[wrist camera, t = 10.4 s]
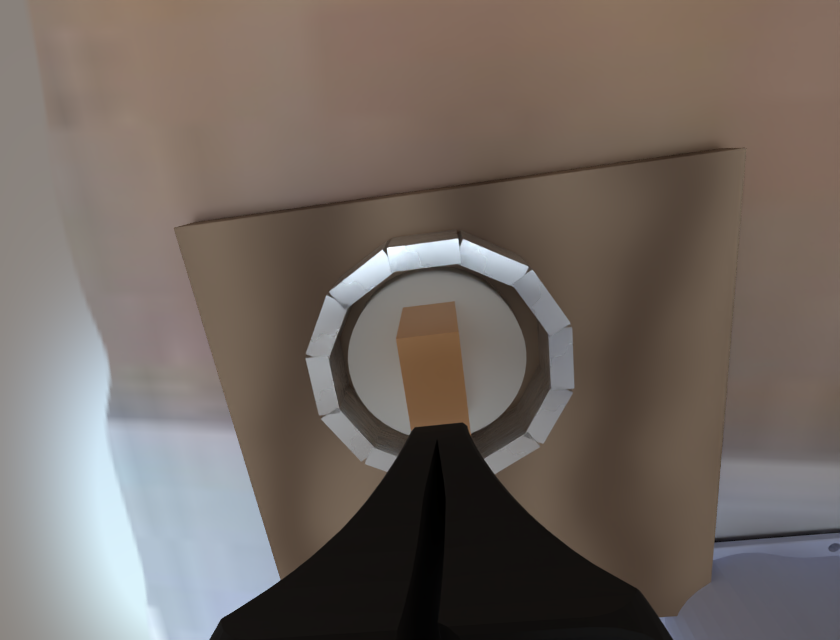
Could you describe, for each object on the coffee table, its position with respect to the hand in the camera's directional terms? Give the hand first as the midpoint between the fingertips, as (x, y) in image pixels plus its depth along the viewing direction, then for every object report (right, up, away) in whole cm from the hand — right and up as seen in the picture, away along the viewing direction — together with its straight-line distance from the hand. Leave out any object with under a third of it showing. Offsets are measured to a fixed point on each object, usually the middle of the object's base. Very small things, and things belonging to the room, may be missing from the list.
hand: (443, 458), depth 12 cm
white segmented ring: (0, +2, +6) cm, 7 cm away
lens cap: (0, +2, +6) cm, 7 cm away
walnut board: (+2, -1, +9) cm, 10 cm away
